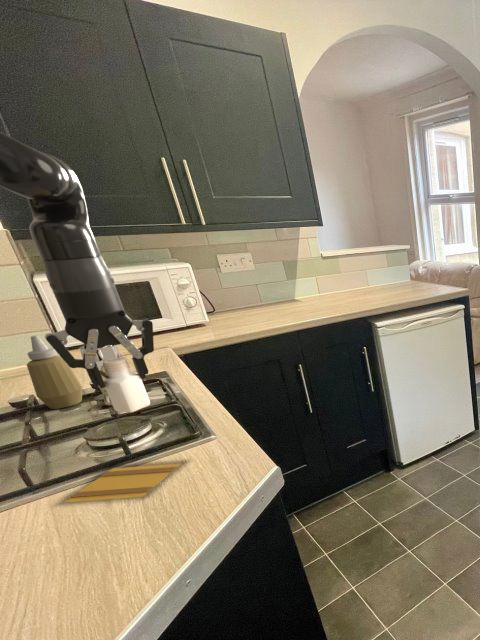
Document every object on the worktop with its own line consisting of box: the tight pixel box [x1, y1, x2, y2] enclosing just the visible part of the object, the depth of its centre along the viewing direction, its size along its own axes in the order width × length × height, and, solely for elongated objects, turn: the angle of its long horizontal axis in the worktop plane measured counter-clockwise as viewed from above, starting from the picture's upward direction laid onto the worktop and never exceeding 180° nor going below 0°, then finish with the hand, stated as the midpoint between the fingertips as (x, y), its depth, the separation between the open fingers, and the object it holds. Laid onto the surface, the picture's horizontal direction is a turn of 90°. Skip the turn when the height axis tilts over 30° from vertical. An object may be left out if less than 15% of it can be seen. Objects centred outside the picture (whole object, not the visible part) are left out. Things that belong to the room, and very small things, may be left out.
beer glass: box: [78, 345, 123, 407], centre depth 105 cm, size 7×7×15 cm
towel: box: [64, 463, 181, 504], centre depth 73 cm, size 12×10×1 cm
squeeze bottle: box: [26, 335, 83, 410], centre depth 103 cm, size 8×8×18 cm
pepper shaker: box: [102, 356, 151, 414], centre depth 76 cm, size 4×4×10 cm
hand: (122, 381), depth 75 cm, fingers closed on pepper shaker, 5 cm apart
